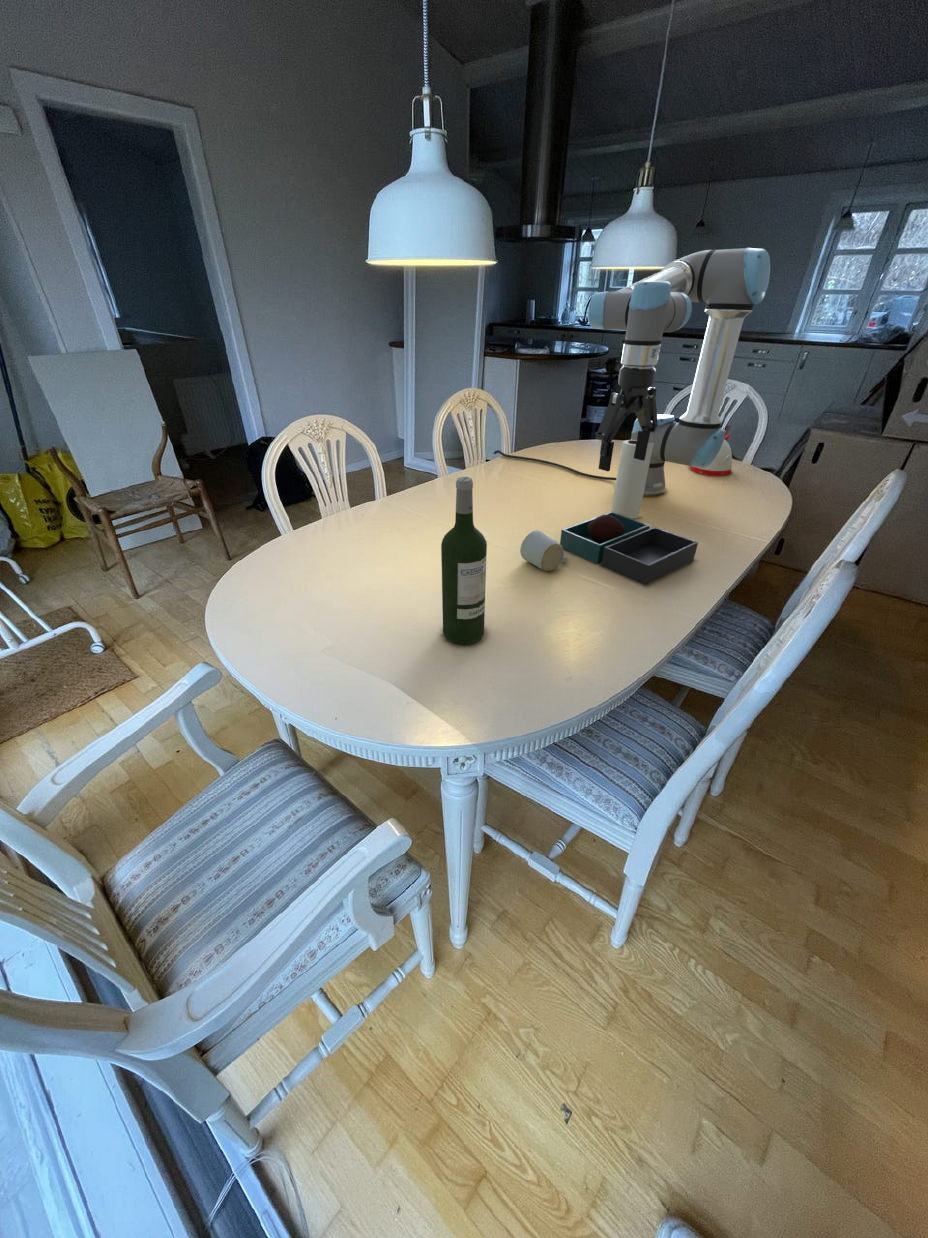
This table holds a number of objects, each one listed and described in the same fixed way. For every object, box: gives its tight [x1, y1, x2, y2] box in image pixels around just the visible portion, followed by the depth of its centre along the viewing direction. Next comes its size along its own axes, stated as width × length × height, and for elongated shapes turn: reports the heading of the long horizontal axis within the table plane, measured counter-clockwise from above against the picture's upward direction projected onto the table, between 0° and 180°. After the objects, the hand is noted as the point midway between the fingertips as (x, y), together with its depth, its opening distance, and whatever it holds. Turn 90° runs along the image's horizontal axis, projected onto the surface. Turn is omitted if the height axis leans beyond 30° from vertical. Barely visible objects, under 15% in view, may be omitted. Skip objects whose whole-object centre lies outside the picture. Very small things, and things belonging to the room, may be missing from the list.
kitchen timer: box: [689, 427, 733, 477], centre depth 184 cm, size 14×14×15 cm
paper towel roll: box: [610, 439, 654, 519], centre depth 142 cm, size 7×6×21 cm
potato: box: [587, 514, 625, 544], centre depth 129 cm, size 8×9×8 cm
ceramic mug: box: [519, 530, 568, 572], centre depth 120 cm, size 11×8×8 cm
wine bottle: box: [440, 476, 488, 646], centre depth 89 cm, size 8×8×30 cm
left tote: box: [559, 511, 651, 565], centre depth 130 cm, size 12×20×5 cm, turn 129°
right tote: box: [600, 526, 699, 586], centre depth 122 cm, size 12×20×5 cm, turn 129°
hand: (622, 464), depth 122 cm, fingers open, 13 cm apart
